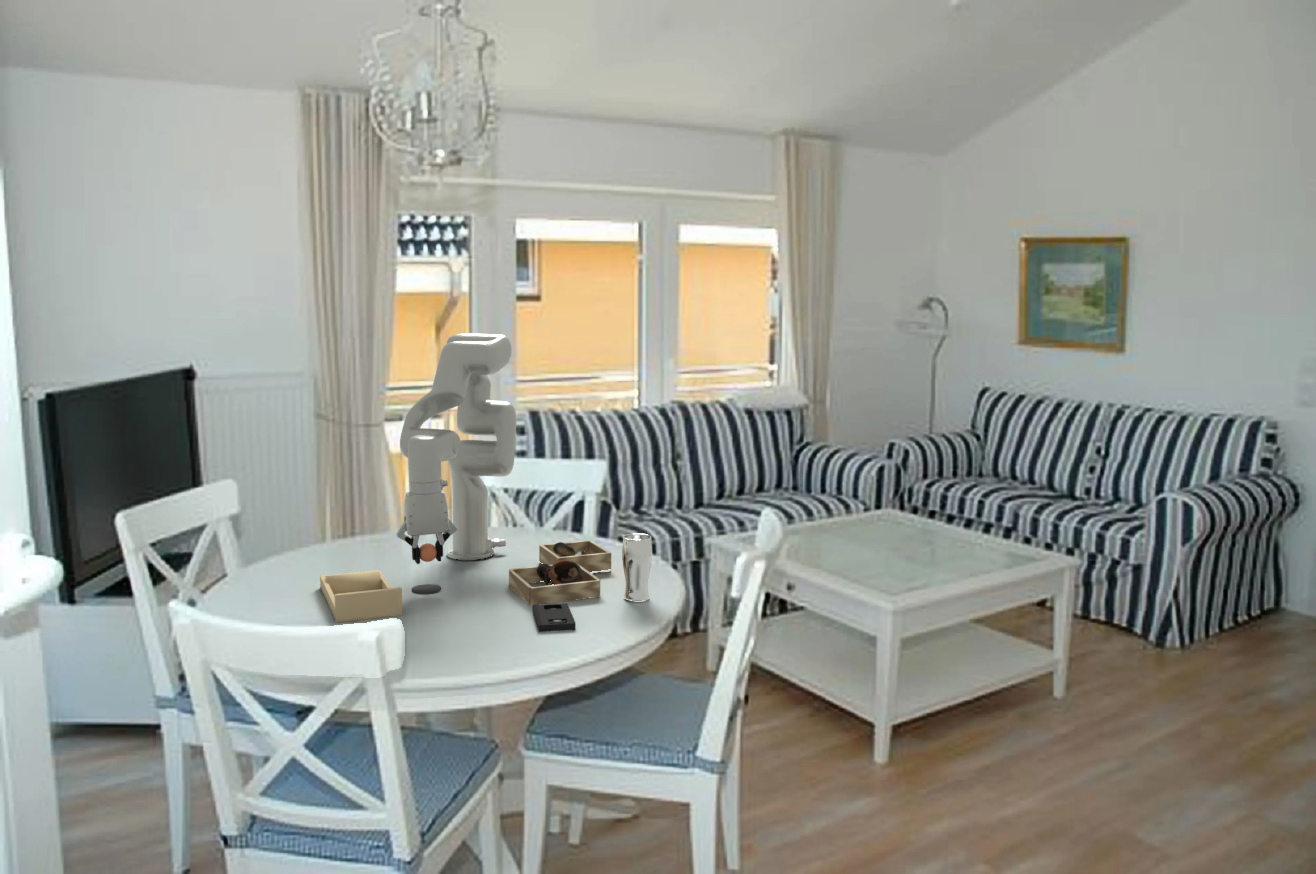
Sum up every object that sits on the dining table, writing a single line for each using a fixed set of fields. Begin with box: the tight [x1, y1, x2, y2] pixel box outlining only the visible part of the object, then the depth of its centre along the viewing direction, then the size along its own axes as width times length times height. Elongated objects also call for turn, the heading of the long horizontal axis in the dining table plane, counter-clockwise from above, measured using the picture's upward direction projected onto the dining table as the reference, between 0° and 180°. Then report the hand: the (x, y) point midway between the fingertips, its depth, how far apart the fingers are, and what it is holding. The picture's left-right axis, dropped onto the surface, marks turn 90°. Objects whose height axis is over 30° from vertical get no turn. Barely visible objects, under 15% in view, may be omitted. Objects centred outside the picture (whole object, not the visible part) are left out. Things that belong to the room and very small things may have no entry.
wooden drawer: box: [319, 569, 403, 624], centre depth 230 cm, size 14×28×10 cm, turn 25°
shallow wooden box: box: [508, 564, 601, 606], centre depth 240 cm, size 18×18×4 cm
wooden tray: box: [538, 539, 612, 572], centre depth 262 cm, size 15×15×5 cm
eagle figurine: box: [553, 541, 587, 557], centre depth 261 cm, size 8×7×9 cm
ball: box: [419, 542, 437, 563], centre depth 240 cm, size 4×4×4 cm
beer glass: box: [621, 532, 653, 601], centre depth 235 cm, size 7×7×15 cm
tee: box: [411, 583, 442, 595], centre depth 240 cm, size 7×7×1 cm
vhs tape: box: [531, 603, 576, 633], centre depth 219 cm, size 14×8×2 cm, turn 12°
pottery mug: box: [536, 560, 584, 586], centre depth 242 cm, size 12×10×8 cm
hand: (427, 560), depth 240 cm, fingers closed on ball, 4 cm apart
